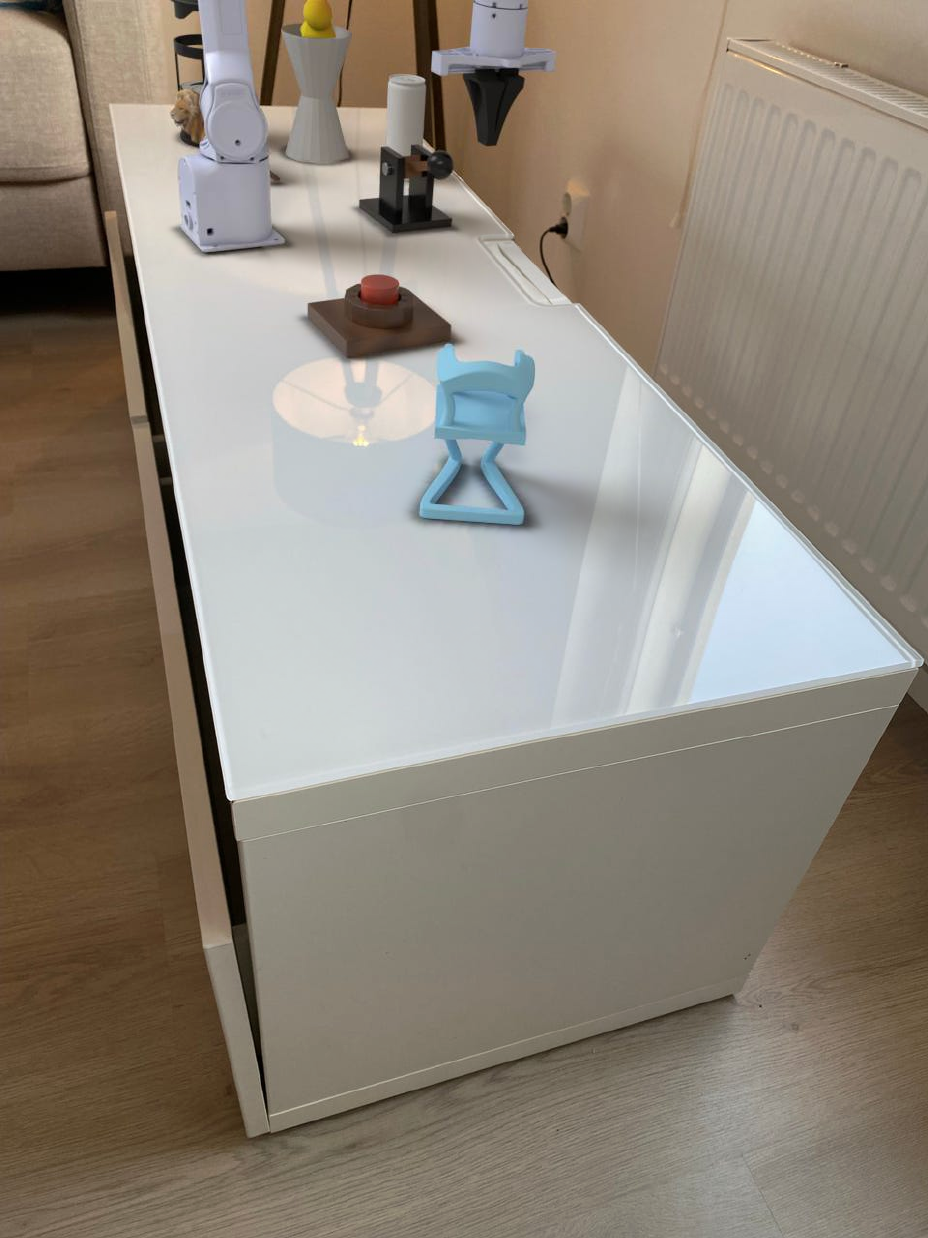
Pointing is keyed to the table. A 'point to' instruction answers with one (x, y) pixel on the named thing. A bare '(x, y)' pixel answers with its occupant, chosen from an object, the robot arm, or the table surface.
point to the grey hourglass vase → (316, 84)
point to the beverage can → (405, 113)
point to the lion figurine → (193, 117)
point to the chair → (479, 428)
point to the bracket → (404, 196)
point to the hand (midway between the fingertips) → (486, 143)
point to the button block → (377, 323)
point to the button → (379, 289)
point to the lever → (429, 165)
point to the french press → (188, 53)
